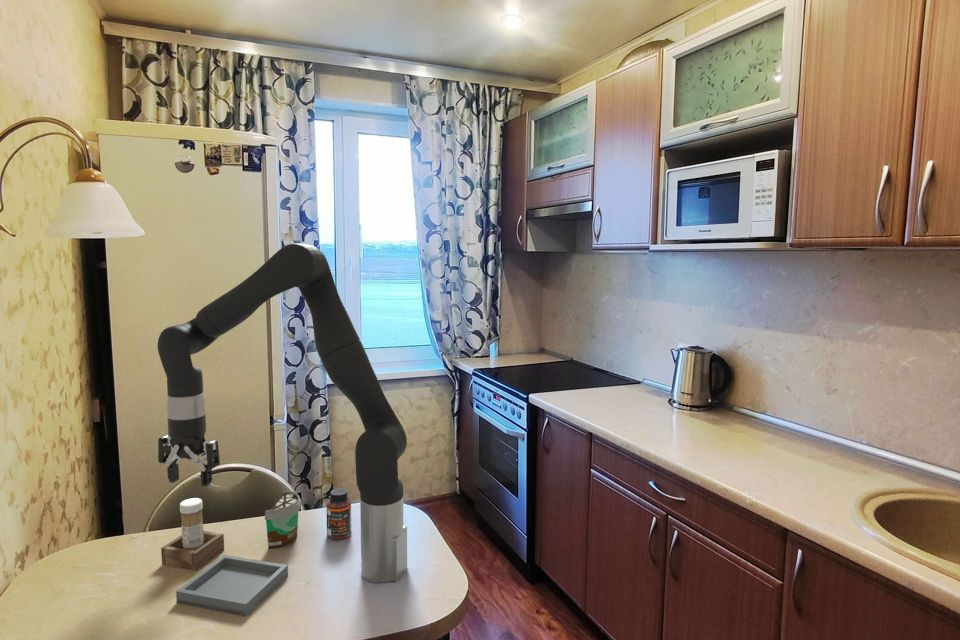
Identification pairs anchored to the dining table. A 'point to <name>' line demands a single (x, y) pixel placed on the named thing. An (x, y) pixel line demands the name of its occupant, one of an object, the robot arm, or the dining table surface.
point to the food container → (283, 520)
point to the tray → (232, 585)
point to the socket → (192, 552)
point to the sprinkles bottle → (192, 523)
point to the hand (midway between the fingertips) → (190, 483)
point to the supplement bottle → (338, 515)
